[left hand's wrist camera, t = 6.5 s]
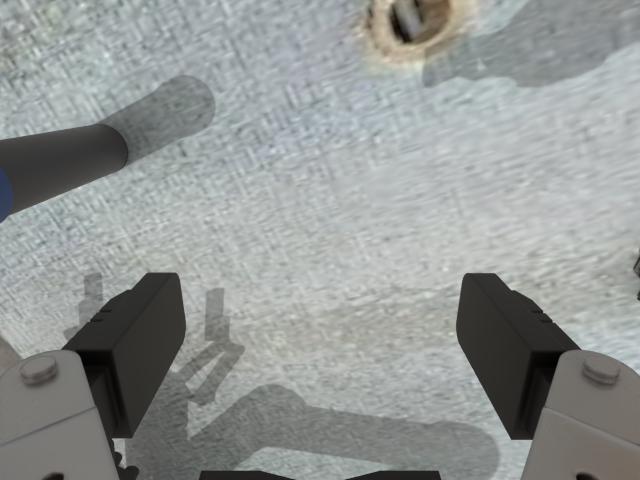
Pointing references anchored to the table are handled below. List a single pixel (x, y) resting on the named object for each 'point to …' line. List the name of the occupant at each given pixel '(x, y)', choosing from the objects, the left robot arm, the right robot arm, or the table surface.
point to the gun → (638, 274)
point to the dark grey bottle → (59, 161)
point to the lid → (5, 196)
